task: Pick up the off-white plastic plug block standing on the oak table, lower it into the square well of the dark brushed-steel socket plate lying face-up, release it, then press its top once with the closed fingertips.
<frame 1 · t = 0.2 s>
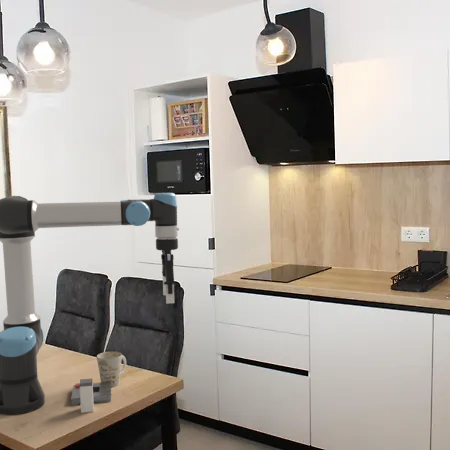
hand: (168, 299, 200), 28 cm above the table, fingers open, 13 cm apart
socket plate: (91, 395, 187), on the table
mug: (114, 382, 199), on the table
plug: (87, 409, 176), on the table
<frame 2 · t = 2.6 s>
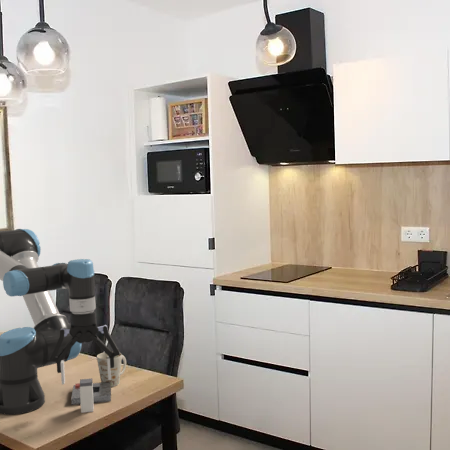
hand: (86, 380, 175), 9 cm above the table, fingers open, 13 cm apart
nothing on the table moved.
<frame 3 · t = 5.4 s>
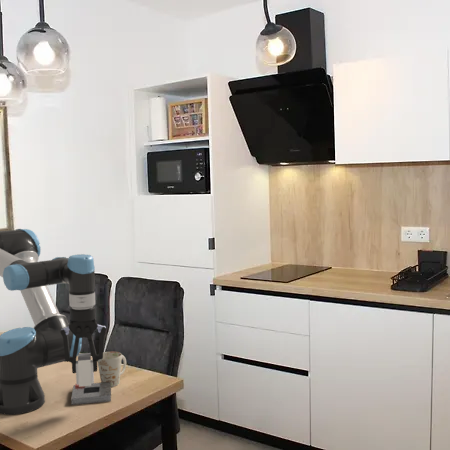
hand: (85, 382, 176), 8 cm above the table, fingers closed on plug, 4 cm apart
plug: (85, 384, 175), point 8 cm above the table, touching gripper
everything else where it was.
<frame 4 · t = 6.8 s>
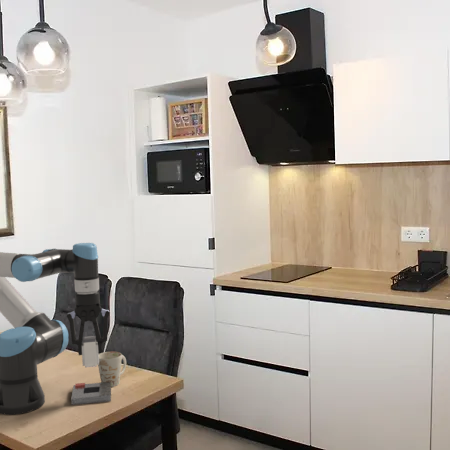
hand: (90, 363, 186), 11 cm above the table, fingers closed on plug, 4 cm apart
plug: (91, 365, 186), point 10 cm above the table, touching gripper
everything else where it was.
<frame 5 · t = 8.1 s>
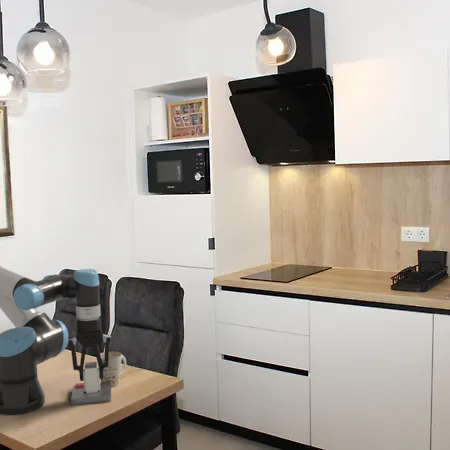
hand: (92, 389, 187), 2 cm above the table, fingers closed on plug, 4 cm apart
plug: (92, 390, 186), point 2 cm above the table, touching gripper
everything else where it was.
when the fingers open (2 cm above the table, at t = 9.5 s): plug drops 2 cm, resting on socket plate.
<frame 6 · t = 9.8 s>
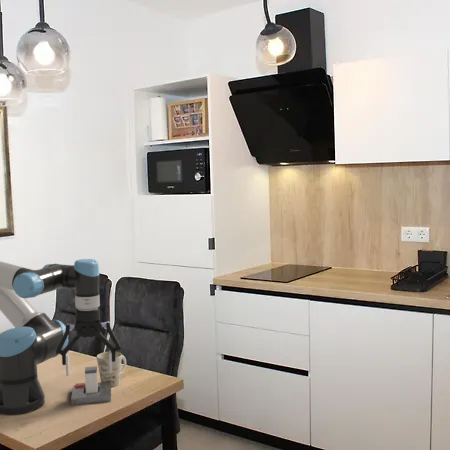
hand: (89, 373, 186), 8 cm above the table, fingers open, 13 cm apart
plug: (92, 395, 187), resting on socket plate
everything else where it was.
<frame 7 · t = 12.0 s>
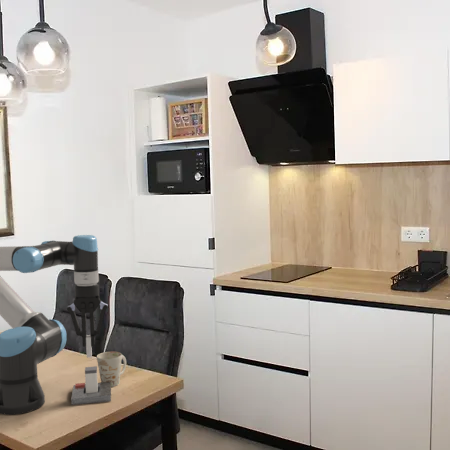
hand: (89, 355, 187), 13 cm above the table, fingers closed
nothing on the table moved.
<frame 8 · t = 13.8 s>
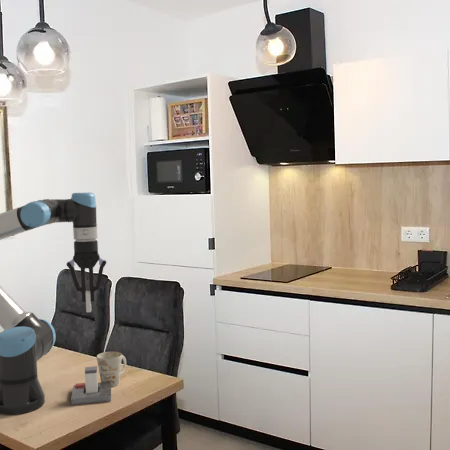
hand: (88, 311, 190), 26 cm above the table, fingers closed
nothing on the table moved.
at the end: plug 0.4 cm off-centre on the socket plate, point 0.2 cm above the socket plate's base; plug tilted 0°; the gripper is holding nothing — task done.
